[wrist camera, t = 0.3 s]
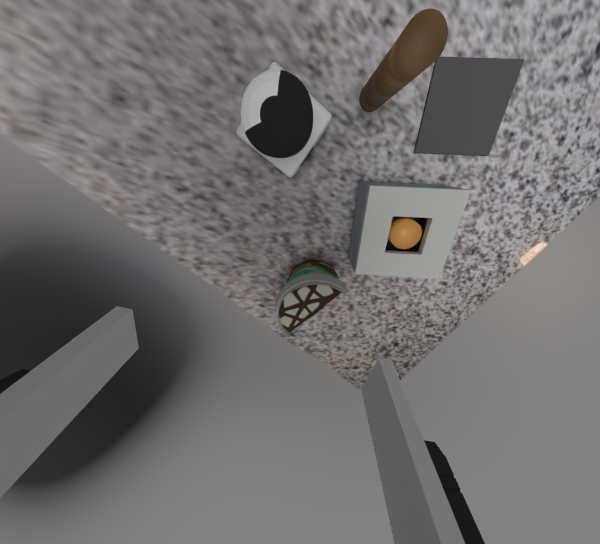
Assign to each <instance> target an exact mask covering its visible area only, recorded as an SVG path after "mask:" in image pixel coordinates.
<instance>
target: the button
mask: <svg viewBox="0 0 600 544" xmlns="http://www.w3.org/2000/svg"><path fill="white" fill-rule="evenodd" d="M421 235H422V229H421V226H420V225H419V224H418V223H417V222H416V221H414V220H412V219H410V218H409V217H399V216H395V217H393V218H392V223H391V227H390V231H389V236H388V240H389V241H390V242H391V243H392V244H393V245H394V246H395V247H397V248H399V249H408V248H411V247H413V246H414V245H416V244H417V243H418V241H419V240H420V238H421Z"/></svg>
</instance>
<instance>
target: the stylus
mask: <svg viewBox="0 0 600 544" xmlns="http://www.w3.org/2000/svg"><path fill="white" fill-rule="evenodd" d="M447 35H448V28H447V22H446V20H445V18H444V16H443V15H442V13H440V12H439V11H437V10H435V9H426V10H423V11H421V12H419V13H418V14H416V15H415V16H414V17H413V18H412V19H411V20H410V22H409V23H408V25H407V26H406V28H405V29H404V30H403V32H402V33H401V35H400V36H399V38H398V39H397V40H396V42H395V43H394V45H393V46H392V48H391V49H390V51H389V52H388V53H387V55H386V56H385V58H384V59H383V61H382V62H381V63H380V65H379V66H378V68H377V69H376V71H375V72H374V74H373V75H372V76H371V78H370V79H369V81H368V82H367V84H366V85H365V87H364V88H363V89H362V91H361V94H360V105H361V107H362V108H363V109H364V110H365V111H367V112H372V111H375V110H376V109H378V108H379V107H380V106H381V105H382V104H384V103H385V102H386V101H387V100H388V99H390V98H391V97H392V96H393V95H395V94H396V93H397V92H398V91H399V90H401V89H402V88H403V87H404V86H406V85H407V84H408V83H409V82H410V81H412V80H413V79H414V78H415V77H417V76H418V75H419V74H420V73H421V72H423V71H424V70H425V69H426V68H428V67H429V66H430V65H431V64H432V63H434V62H435V61H436V60H437V59H438V57H439V56H440V55H441V53H442V51H443V49H444V47H445V44H446V41H447Z"/></svg>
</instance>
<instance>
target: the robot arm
mask: <svg viewBox="0 0 600 544" xmlns="http://www.w3.org/2000/svg"><path fill="white" fill-rule="evenodd" d="M137 349H138V342H137V336H136V329H135V323H134V317H133V311H132V309H127V308H122V307H116V308H115V309H113V310H112V311H110V312H109V313H108V314H106V315H105V316H104V317H102V318H101V319H100V320H98V321H97V322H96V323H94V324H93V325H92V326H90V327H89V328H88V329H86V330H85V331H84V332H82V333H81V334H80V335H78V336H77V337H75V338H74V339H73V340H72V341H70V342H69V343H67V344H66V345H65V346H63V347H62V348H61V349H59V350H58V351H57V352H56V353H54V354H53V355H51V356H50V357H49V358H47V359H46V360H45V361H43V362H42V363H41V364H40V365H38V366H37V367H36V368H34V369H33V370H31V371H30V370H25V369H21V370H19V371H17V372H15V373H13V374H11V375H9V376H7V377H5V378H3V379H1V380H0V498H1V497H2V495H3V494H4V493H5V492H6V491H7V490H8V489H9V488H10V487H11V486H12V485H13V483H14V482H15V481H16V480H17V479H18V478H19V477H20V476H21V475H22V474H23V473H24V472H25V471H26V469H27V468H28V467H29V466H30V465H31V464H32V463H33V462H34V460H36V458H38V456H39V455H40V454H41V453H42V452H43V451H44V450H45V449H46V448H47V446H49V445H50V443H51V442H52V441H53V440H54V439H55V438H56V437H57V436H58V434H60V433H61V431H62V430H63V429H64V428H65V427H66V426H67V425H68V424H69V423H70V422H71V421H72V420H73V419H74V417H75V416H76V415H77V414H78V413H79V412H80V411H81V410H82V409H83V408H84V407H85V405H86V404H87V403H88V402H89V401H90V400H91V399H92V398H93V397H94V396H95V395H96V394H97V393H98V391H99V390H100V389H101V388H102V387H103V386H104V385H105V384H106V383H107V382H108V381H109V379H110V378H111V377H112V376H113V375H114V374H115V373H116V372H117V371H118V370H119V369H120V367H121V366H122V365H123V364H124V363H125V362H126V361H127V360H128V359H129V358H130V357H131V356H132V354H134V352H135V351H136V350H137ZM362 395H363V399H364V404H365V409H366V413H367V418H368V423H369V427H370V432H371V436H372V441H373V446H374V450H375V455H376V460H377V464H378V469H379V473H380V478H381V482H382V487H383V492H384V497H385V501H386V506H387V510H388V515H389V520H390V524H391V529H392V533H393V538H394V543H395V544H485V543H484V541H483V539H482V537H481V535H480V532H479V530H478V528H477V525H476V523H475V521H474V520H473V517H472V514H471V512H470V510H469V508H468V506H467V503H466V501H465V499H464V497H463V494H462V493H461V492H460V488H459V486H458V483H457V481H456V479H455V478H454V476H453V472H452V470H451V468H450V466H449V463H448V461H447V459H446V457H445V456H444V454H443V453H442V452H441V450H440V449H439V447H438V446H437V445H436V443H435V442H430V441H425V440H423V437H422V434H421V432H420V429H419V427H418V424H417V422H416V419H415V417H414V414H413V412H412V409H411V407H410V404H409V402H408V400H407V397H406V394H405V392H404V390H403V387H402V384H401V382H400V379H399V377H398V374H397V372H396V369H395V367H394V364H393V362H392V361H390V360H385V359H380V358H379V359H378V361H377V362H376V364H375V366H374V368H373V370H372V372H371V374H370V375H369V377H368V379H367V381H366V383H365V385H364V387H363V388H362Z"/></svg>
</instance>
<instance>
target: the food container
mask: <svg viewBox="0 0 600 544" xmlns="http://www.w3.org/2000/svg"><path fill="white" fill-rule="evenodd" d="M345 292H346V284H345V283H343V282H342V281H340V280H339V278H338V276H337V274H336V272H335V270H334V268H333V267H332V266H331V265H330V264H328V263H325V262H323V261H320V260H308V261H304V262H302V263H300V264H298V265H297V266H295V268H294V269H293V270H292V272H291V274H290V276H289V279H288V281H287V284H286V285H285V286H284V287H283V288H282V289H281V291H280V292H279V294H278V297H277V300H276V315H277V320H278V323H279V325H280V327H281V329H282V330H283V332H284V333H285V334H286V335H287V336H288V337H290V332H291V331H293V330H294V329H295V328H296V327H297V326H299V325H300V324H301V323H303V322H304V321H306V320H307V319H309V318H310V317H312V316H313V315H315V314H316V313H317V312H318V311H319V310H320V309H322V308H323V307H324V306H325V305H326V304H327V303H329V302H330V301H331V300H332V299H334V298H335V297H336V296H338V295H339V294H340V293H343V294H344V295H345Z"/></svg>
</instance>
